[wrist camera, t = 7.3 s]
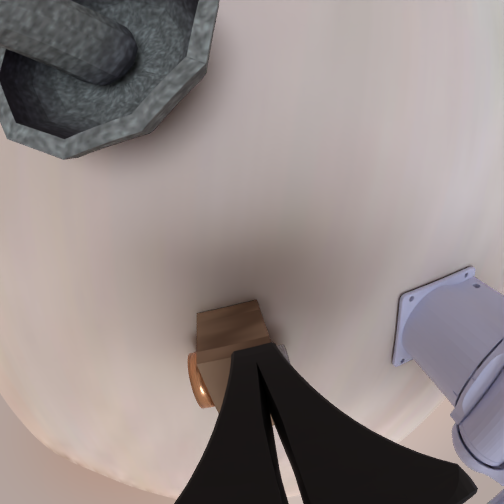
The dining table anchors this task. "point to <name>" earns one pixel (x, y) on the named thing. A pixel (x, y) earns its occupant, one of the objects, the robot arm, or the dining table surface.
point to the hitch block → (226, 342)
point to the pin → (198, 382)
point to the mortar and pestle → (97, 68)
